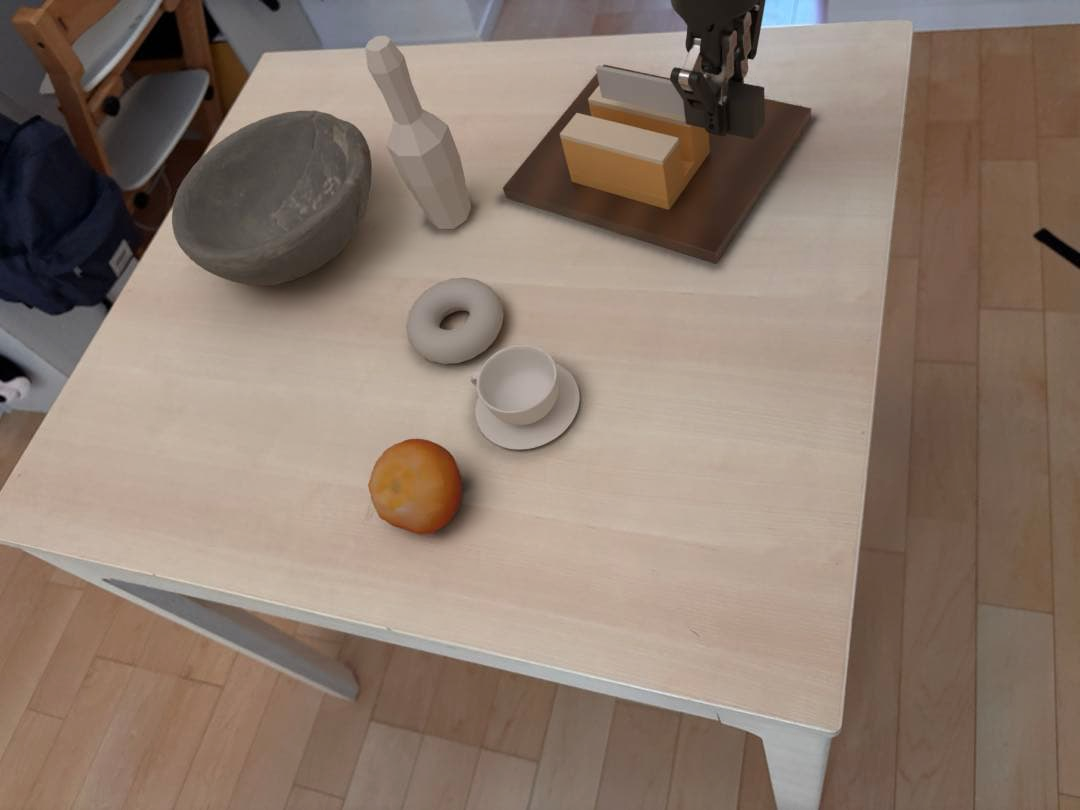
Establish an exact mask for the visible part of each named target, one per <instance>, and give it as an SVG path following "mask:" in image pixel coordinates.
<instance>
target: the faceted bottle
mask: <svg viewBox="0 0 1080 810" xmlns="http://www.w3.org/2000/svg"><path fill="white" fill-rule="evenodd" d="M364 49H365V55H366V65H367V70H368V72H369V73H370V75H371V77H372V79H373V80H374V82H375V83H376V85H377V88H378V89H379V90H380V92H381V94H382V96H383V98H384V101H385V103H386V105H387V107H388V109H389V112H390V114H391V116H392V118H393V123H392V126H391V128H390V132H389V135H388V139H387V141H386V149H387V151H388V153H389V154H390V157H391V159H392V162H393V163H394V166H395V167H396V169H397V171H398V174H399V176H400V177H401V179H402V180H403V182H404V183H405V185H406V187H407V188H408V190H409V191H410V192H411V194H412V196H413V197H414V199H415V200H416V202H417V204H418V205H419V207H420V208H421V209H422V211H423V213H424V214H425V216H426V217H427V219H428V220H429V222H431V224H433V225H434V226H435V227H436V228H437V229H439V230H455V229H456V228H458V227H459V226H460V225H462V224H464V223H465V222H466V221H467V220H468V217H469V215H470V212H471V210H472V204H471V199H470V196H469V191H468V186H467V182H466V177H465V173H464V169H463V164H462V160H461V156H460V153H459V150H458V147H457V146H456V142H455V140H454V137H453V135H452V132H451V130H450V126H449V125H448V124H447V123H445V122H444V121H443V120H442V119H441V118H439V117H438V116H437V115H435V114H434V113H431V112H430V111H427V110H425V109H424V108H422V104H421V102H420V100H419V97H418V96H417V95H418V94H417V92H416V90H415V88H414V85H413V82H412V79H411V76H410V72H409V68H408V64H407V61H406V58H405V55H404V54H403V53H402V52H401V51H400V49H399V48H398V47H397V46H396V44H395V43H394V41H392V39H390V37H388V36H387V35H376V36H374V37H373V38H371V39H370V40H368V42H367V43H366V46H365V48H364Z"/></svg>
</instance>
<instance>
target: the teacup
mask: <svg viewBox="0 0 1080 810" xmlns="http://www.w3.org/2000/svg"><path fill="white" fill-rule="evenodd" d="M469 380H470V383H471V384H472V385H473V387H475V388H476V391H477V398H476V402H475V408H474V409H475V412H474V414H475V420H476V424H477V426H478V428H479V430H480V432H481V433H482V434H483V436H484V437H485V438H486V439H488V440H489V441H490V442H492V443H493V444H494V445H497V446H499V447H501V448H504V449H505V448H506V449H509V450H530V449H535V448H538V447H541V446H544V445H547V444H548V443H550V442H552V441H554V440H555V439H557V438H558V437H560V435H562V434H563V433H564V432H565V431H566V430H567V429H568V428H569V426H570V425H571V424H572V423H573V421H574V420H575V418H576V415H577V413H578V411H579V405H580V389H579V385H578V382H577V380H576V379H575V377H574V376H573V374H572V373H571V372H570V371H569V370H568V369H567V368H565V367H564V366H562V365H560V363H557V362H555V360H554V358H553V357H552V355H550V353H549V352H547V351H546V350H545V349H544V348H542V347H539V346H536V345H532V344H525V343H524V344H514V345H509V346H507V347H504V348H502V349H500V350H498V351H496V352H495V353H493V354H492V355H491V356H490V357H489V358H488V359H486V360H485V362H484V363H483V365H482V366H481V368H480V370H474V371H473V372H471V375H470V377H469Z"/></svg>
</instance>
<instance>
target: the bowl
mask: <svg viewBox="0 0 1080 810" xmlns="http://www.w3.org/2000/svg"><path fill="white" fill-rule="evenodd" d="M365 137H366V136H364V134H363V132H362V131H361V130H360V129H359V128H358V127H357V126H356V125H355V124H353V123H352V122H349V121H347V120H343V119H341V118H338V117H336V116H335V115H333V114H331V113H328V112H323V111H318V110H295V111H294V110H293V111H286V112H281V113H279V114H278V113H277V114H273V115H270V116H266V117H263V118H261V119H258V120H256V121H254V122H251V123H249V124H247V125H245V126H243V127H241V128H239V129H237V130H236V131H233V132H232V133H231V134H229V135H228V136H225V137H224V138H223V139H222V140H221V141H219V142H218V143H216V144H215V145H213V146H212V147H211V148H210V149H209V150H208V151H207V152H206V153H205V154H204V155H202V156H201V157H200V158H199V160H197V162H196V163H194V165H193V166H192V167H191V169H190V170H189V172H188V173H187V174H186V175H185V176H184V177H183V179H182V181H181V183H180V185H179V187H178V189H177V191H176V193H175V196H174V199H173V203H172V209H171V210H172V211H171V212H172V213H171V225H172V231H173V235H174V238H175V240H176V243H177V245H178V246H179V249H181V251H183V253H184V254H185V255H186V256H187V257H188V258H189V259H190V260H191V261H192V262H193V263H195V265H197V266H198V267H200V268H201V269H202V270H205V271H206V272H208V273H210V274H211V275H214V276H216V277H218V278H221V279H224V280H225V281H229V282H232V283H233V282H234V283H238V284H243V285H250V286H276V285H280V284H283V283H287V282H290V281H293V280H296V279H299V278H302V277H305V276H306V275H309V274H310V273H313V272H315V271H316V270H318V269H320V268H321V267H323V266H324V265H325V264H327V263H328V262H329V261H331V260H332V259H333V258H335V257H336V256H337V255H338V254H339V253H340V252H341V251H342V250H343V249H344V248H345V246H347V245H348V243H349V242H350V241H351V239H352V238H353V237H354V235H355V233H356V232H357V230H358V229H359V227H360V225H361V223H362V219H363V218H364V214H365V211H366V209H367V204H368V201H369V195H370V191H371V187H372V175H373V173H372V171H373V169H372V168H373V167H372V165H373V164H372V163H373V162H372V155H371V150H370V147H369V144H368V141H367V139H366V138H365Z"/></svg>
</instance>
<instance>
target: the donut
mask: <svg viewBox="0 0 1080 810" xmlns="http://www.w3.org/2000/svg"><path fill="white" fill-rule="evenodd" d="M461 311H462V312H463V311H464V312H467V313H469V317H468V319H466V321H465V322H464V323H463V324H461V325H460V326H458V327H456V328H452V329H443V328H441V324H442V322H443V320H444V319H445V318H446V317H448V316H449V315H450V314H453V313H455V312H461ZM503 320H504V308H503V305H502V301H501V298H500V297H499V296H498V294H497V293H496V291H495V290H494V289H493V288H492V287H491V286H490V285H488V284H487V283H484V282H482V281H481V280H478V279H475V278H469V277H455V278H449V279H446V280H443V281H440V282H437V283H435V284H434V285H432V286H430V287H429V288H427V289H425V290H424V291H423V292H422V293H421V294H420V296H418V297H417V298H416V300H415V301H414V302H413V304H412V306H411V308H410V309H409V310H408V315H407V320H406V328H405V329H406V333H407V337H408V342H409V343H410V345H411V346H412V348H413V349H414V351H415V352H416V353H418V354H419V355H420V356H422V357H423V358H424V359H426V360H427V361H430V362H434V363H439V364H443V365H447V364H459V363H462V362H463V363H464V362H465V361H469V360H472V359H474V358H476V357H477V356H480V355H481V354H483V352H485V351H487V349H489V347H490V346H491V345H493V343H494V342H495V341H496V339H497V337H498V335H499V334H500V331H501V330H502V326H503Z"/></svg>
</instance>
